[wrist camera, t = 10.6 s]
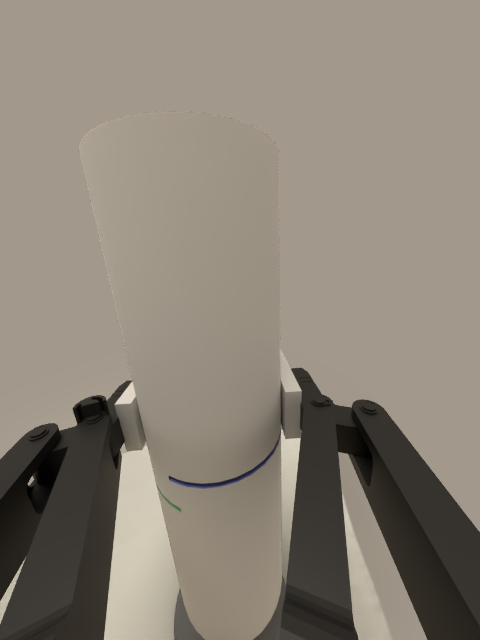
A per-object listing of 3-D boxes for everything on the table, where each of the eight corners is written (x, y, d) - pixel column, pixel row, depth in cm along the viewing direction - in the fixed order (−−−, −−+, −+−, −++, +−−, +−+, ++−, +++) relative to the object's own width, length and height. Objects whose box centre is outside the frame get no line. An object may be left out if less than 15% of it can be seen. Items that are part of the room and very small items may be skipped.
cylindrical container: (277, 670, 12) (265, 80, 5) (160, 624, 14) (17, 142, 6) (284, 520, 19) (284, 178, 11) (205, 502, 20) (159, 195, 13)
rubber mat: (148, 646, 16) (147, 643, 16) (216, 519, 24) (216, 516, 24) (263, 773, 12) (263, 770, 12) (302, 570, 20) (302, 567, 20)
